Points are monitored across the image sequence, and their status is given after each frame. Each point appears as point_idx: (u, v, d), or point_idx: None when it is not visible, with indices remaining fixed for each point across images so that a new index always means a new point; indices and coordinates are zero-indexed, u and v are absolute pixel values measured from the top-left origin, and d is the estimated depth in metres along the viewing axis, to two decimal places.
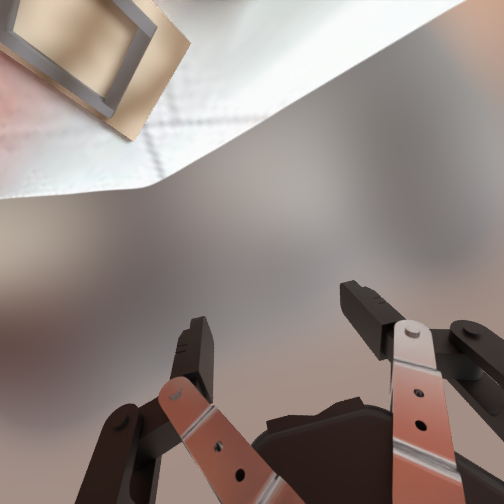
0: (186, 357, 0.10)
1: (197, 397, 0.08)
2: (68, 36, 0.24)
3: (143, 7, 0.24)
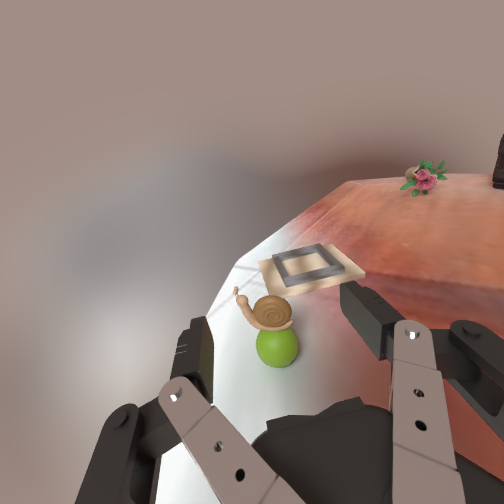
0: (186, 357, 0.10)
1: (197, 397, 0.08)
2: (305, 262, 0.49)
3: (295, 286, 0.42)
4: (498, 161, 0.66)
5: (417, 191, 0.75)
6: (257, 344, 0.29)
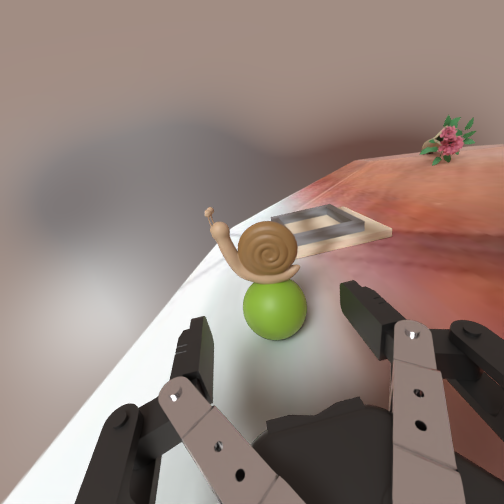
0: (186, 357, 0.10)
1: (197, 397, 0.08)
2: (312, 224, 0.39)
3: (300, 246, 0.32)
4: None
5: (439, 159, 0.65)
6: (244, 304, 0.19)
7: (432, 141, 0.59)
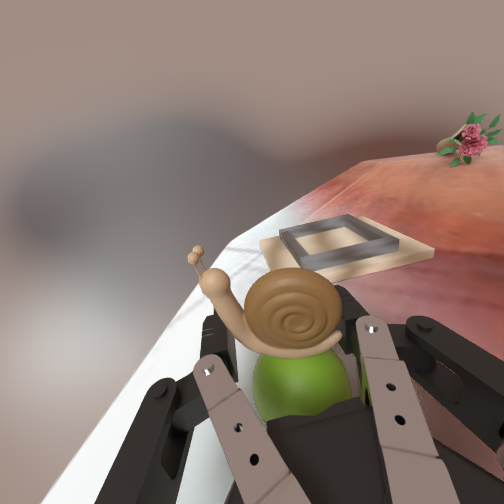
0: (214, 338, 0.11)
1: (226, 377, 0.09)
2: (330, 239, 0.33)
3: (319, 271, 0.26)
4: None
5: (458, 160, 0.59)
6: (255, 387, 0.12)
7: (452, 141, 0.53)
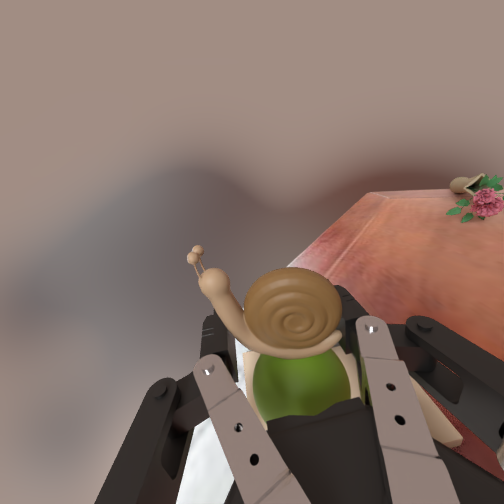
0: (214, 338, 0.11)
1: (226, 377, 0.09)
2: None
3: None
4: None
5: (470, 215, 0.53)
6: (255, 387, 0.12)
7: (463, 202, 0.47)
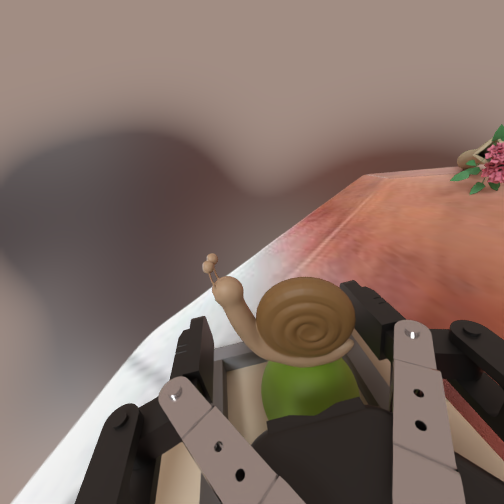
0: (186, 357, 0.10)
1: (197, 397, 0.08)
2: None
3: None
4: None
5: (481, 185, 0.44)
6: (265, 394, 0.12)
7: (472, 163, 0.38)
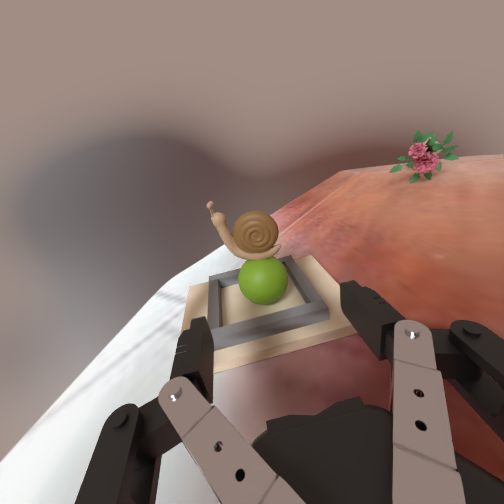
0: (186, 357, 0.10)
1: (197, 397, 0.08)
2: None
3: (229, 350, 0.21)
4: None
5: (417, 175, 0.57)
6: (239, 277, 0.24)
7: (402, 158, 0.51)
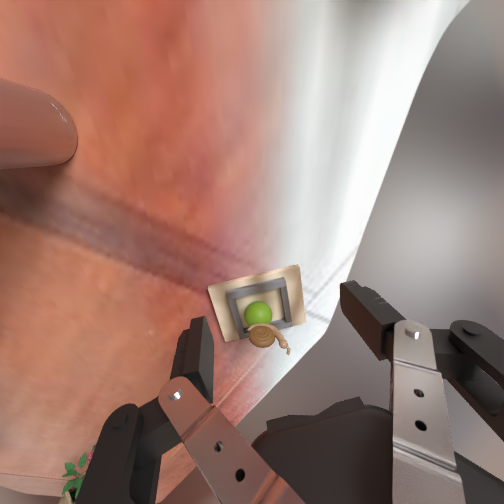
0: (186, 357, 0.10)
1: (197, 397, 0.08)
2: None
3: (275, 277, 0.44)
4: None
5: None
6: (271, 315, 0.43)
7: None
